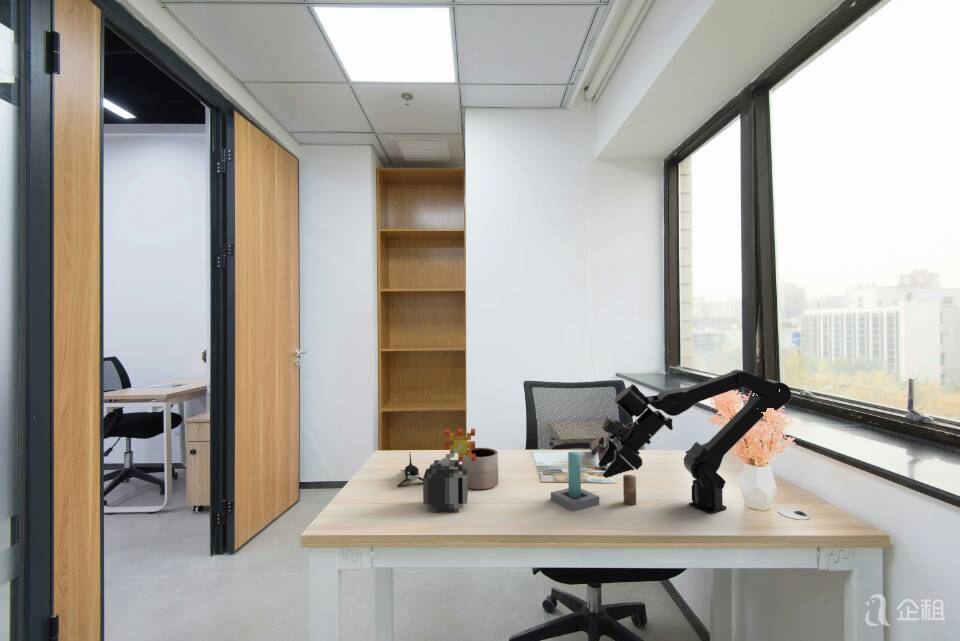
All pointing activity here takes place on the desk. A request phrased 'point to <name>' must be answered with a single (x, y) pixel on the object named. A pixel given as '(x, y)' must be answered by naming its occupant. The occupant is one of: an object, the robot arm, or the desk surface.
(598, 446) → the toy gun
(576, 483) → the teal pin
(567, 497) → the socket block
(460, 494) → the bomb
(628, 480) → the walnut pin
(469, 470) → the planter
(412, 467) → the toy
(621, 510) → the desk surface
